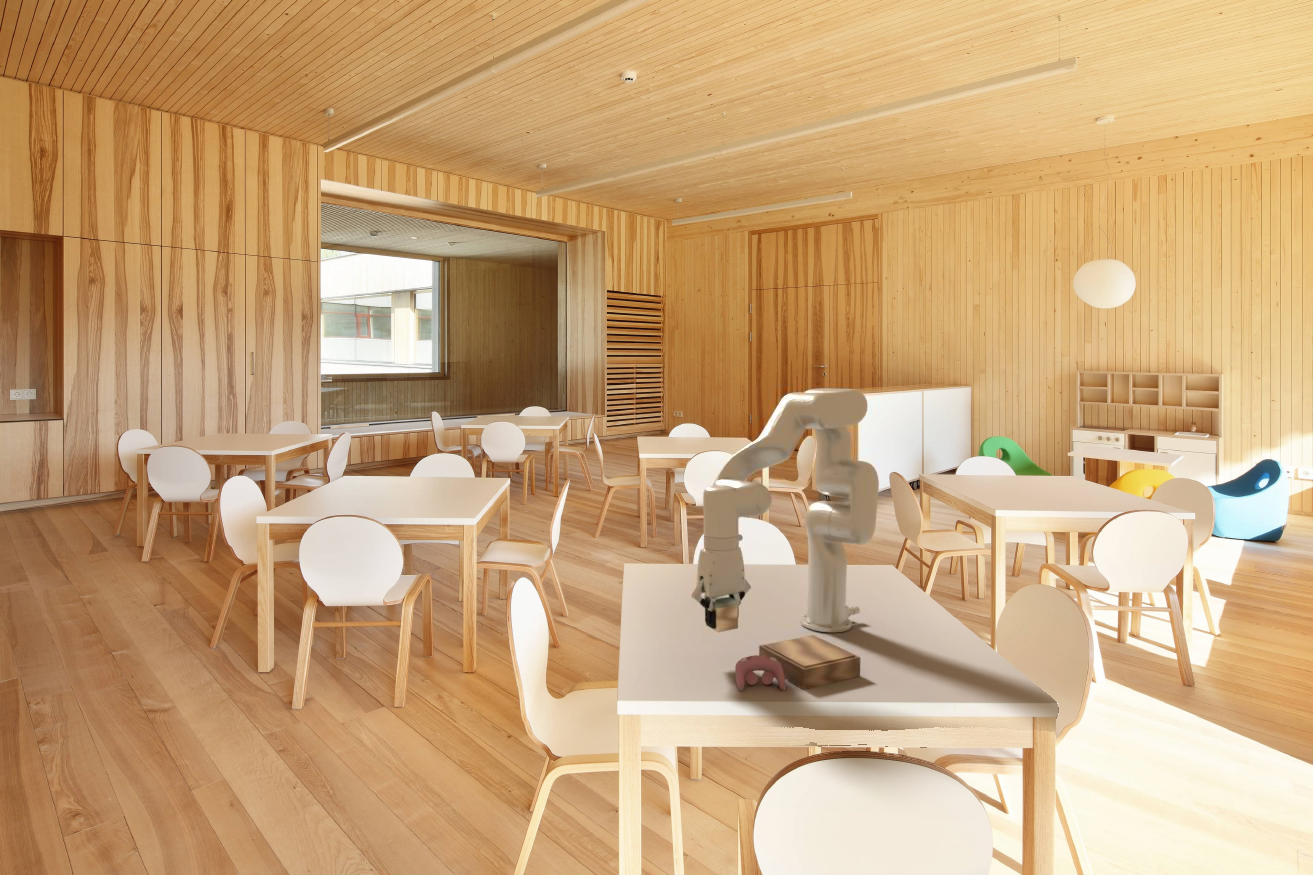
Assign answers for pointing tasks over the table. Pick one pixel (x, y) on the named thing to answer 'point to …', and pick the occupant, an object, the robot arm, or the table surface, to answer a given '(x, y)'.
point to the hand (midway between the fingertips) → (722, 623)
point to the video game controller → (759, 663)
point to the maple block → (726, 613)
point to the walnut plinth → (812, 661)
